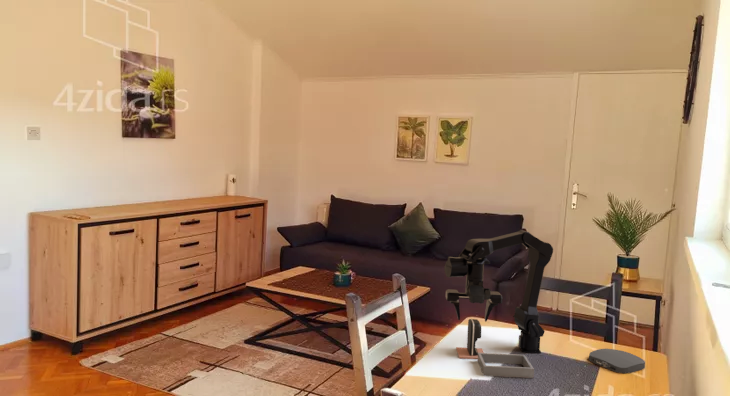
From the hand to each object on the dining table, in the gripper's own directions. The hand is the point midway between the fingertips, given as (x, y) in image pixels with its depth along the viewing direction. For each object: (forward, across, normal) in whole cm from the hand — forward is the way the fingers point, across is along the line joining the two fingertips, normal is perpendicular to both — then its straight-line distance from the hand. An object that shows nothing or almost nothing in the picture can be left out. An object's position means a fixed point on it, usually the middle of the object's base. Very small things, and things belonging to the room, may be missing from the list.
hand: (472, 320), depth 185 cm
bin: (+12, +9, -12) cm, 19 cm away
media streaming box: (+12, +49, -2) cm, 51 cm away
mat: (+12, 0, 0) cm, 12 cm away
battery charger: (+12, +1, 0) cm, 12 cm away
